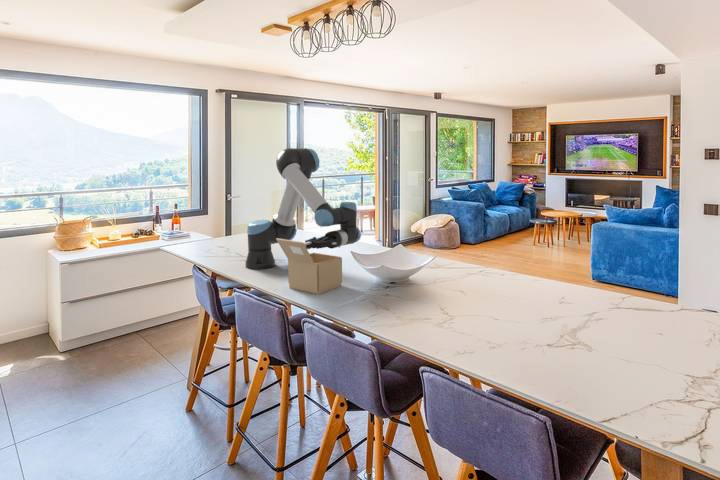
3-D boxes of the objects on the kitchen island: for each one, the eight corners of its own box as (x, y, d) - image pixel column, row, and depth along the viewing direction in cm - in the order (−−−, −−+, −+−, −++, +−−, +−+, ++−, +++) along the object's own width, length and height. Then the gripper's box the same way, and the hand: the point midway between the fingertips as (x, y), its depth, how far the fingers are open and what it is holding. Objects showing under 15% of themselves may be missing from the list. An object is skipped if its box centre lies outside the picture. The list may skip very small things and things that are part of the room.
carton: (287, 287, 206) (287, 258, 203) (314, 279, 219) (313, 252, 217) (318, 295, 195) (318, 264, 193) (344, 285, 208) (344, 257, 206)
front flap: (288, 259, 202) (275, 239, 195) (288, 258, 202) (276, 238, 195) (314, 264, 193) (302, 243, 186) (314, 263, 193) (302, 242, 186)
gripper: (347, 249, 209) (311, 258, 190) (324, 245, 216) (287, 254, 197) (347, 232, 207) (311, 240, 188) (324, 229, 215) (287, 236, 196)
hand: (299, 247), depth 193 cm, fingers closed
